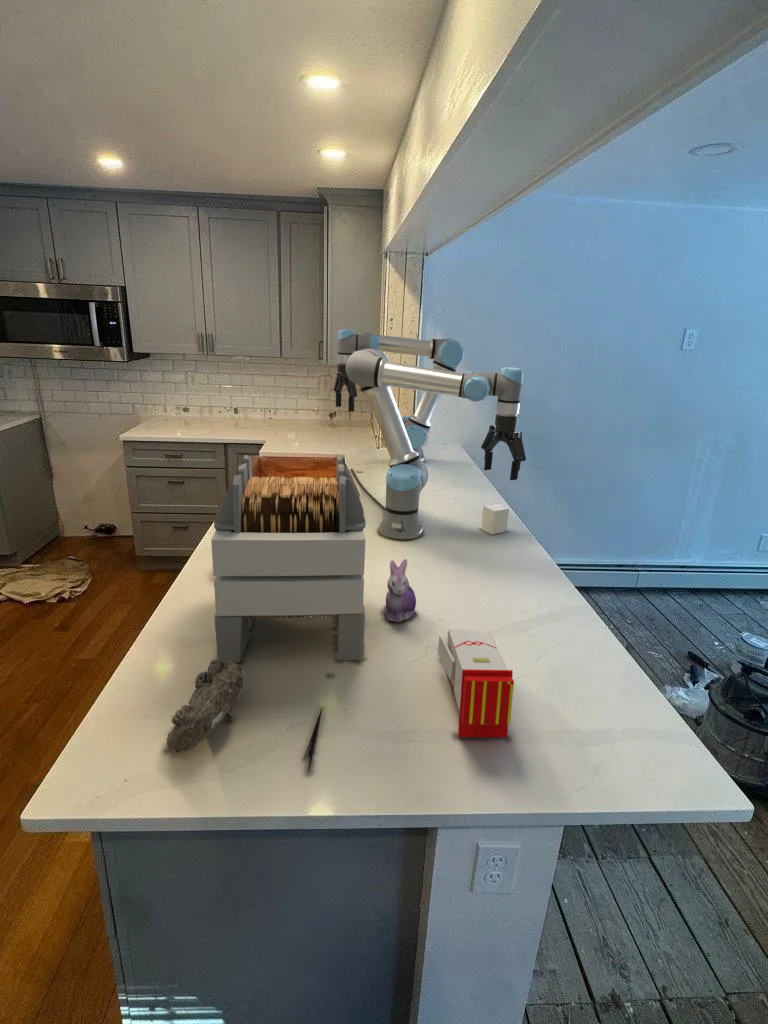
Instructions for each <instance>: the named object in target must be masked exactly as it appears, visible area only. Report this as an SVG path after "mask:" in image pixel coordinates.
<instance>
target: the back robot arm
mask: <svg viewBox="0 0 768 1024" xmlns="http://www.w3.org/2000/svg"><path fill="white" fill-rule="evenodd" d="M337 333H338V334H337V363H338V364H337V372H336V377H335V382H334V385H333V392H334V393H335V408H339V407H340V408H341V407H342V393H343V391H342V390H343V387H344V386H345V387H346V389H347V392H348V395H349V396H348V410H347V411H348V412H349V413H350V412H355V398H357V397H358V392H357V387H356V384H355V383H353V382H352V381H351V380H350V379H349V378H348V376H347V373H346V362H347V360H348V358H349V357H350V356H351V355H352V354H353V353H354V352H356V351H360V350H364V349H368V348H374V349H378V350H380V351H382V352H383V353H384V352H385V353H392V354H400V355H401V354H403V355H411V356H420V357H427V358H428V359H429V360H433V361H432V366H433V369H437V370H444V371H450V372H456V371H457V369H458V367H459V365H460V364H461V363H462V362H463V360H464V357H465V349H464V347H463V345H462V344H461V343H460V341H458V340H456V339H452V338H431V339H428V340H427V339H419V338H410V337H401V336H391V335H383V334H375V333H374V334H373V333H368V332H365V333H363V334H357V333H355V330H354V329H344V328H343V329H339V330H338V332H337ZM442 395H443V394H437V393H431V392H424V391H422V394H421V396H420V398H419V400H418V403H417V405H416V408H415V410H414V412H413V414H411V415H407V416H406V415H405V416H401V418H402V421H403V424H404V427H405V430H406V432H407V435H408V438H409V441H410V443H411V446H412V449H413V450H414V451H416V452H418V453H419V456H420V459H421V461H422V462H423V463H424V462H425V458H426V457H425V454H424V449H423V446H424V445H425V444H426V442H427V439H428V434H429V431H430V429H431V427H432V423H431V420H432V417H433V415H434V413H435V410H436V408H437V406H438V403H439V401H440V399H441V396H442ZM375 437H377V435H375Z"/></svg>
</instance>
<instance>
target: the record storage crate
mask: <svg viewBox="0 0 768 1024" xmlns="http://www.w3.org/2000/svg"><path fill="white" fill-rule="evenodd" d="M252 461H253V460H252V455H246V454H244V455H243V457H242V460H241V461H240V463H239V465H238V467H237V469H236V471H235V474H234V475H233V477H232V479H231V481H230V483H229V485H228V488H227V491H226V492H225V495H224V497H223V499H222V501H221V504H220V506H219V508H218V510H217V513H216V515H215V517H214V519H213V520H214V521H213V528H214V529H215V530H214V533H213V535H212V537H211V540H210V543H211V558H212V572H213V573H212V575H213V577H215V578H214V581H213V588H214V589H213V591H214V605H215V614H214V630H215V632H214V633H215V644H216V653H217V659H215V660H217V661H222V662H223V661H224V660H227V659H228V660H231V659H232V660H234V661H235V662H236V663H241V660H242V657H243V655H244V652H245V649H246V647H247V644H248V641H249V639H250V634H249V633H250V631H249V629H251V628H252V624H253V619H292V618H293V619H294V618H295V619H300V618H302V619H305V618H306V619H307V618H335V627H336V648H337V649H336V651H337V660H338V661H347V660H348V661H349V660H351V661H352V660H354V661H361V660H362V659H364V657H365V629H366V627H365V626H366V625H365V624H366V613H365V606H364V594H365V593H364V591H365V578H364V575H365V562H366V561H365V559H366V535H365V531H364V529H365V528H366V517H365V512H364V507H363V506H364V505H363V503H362V499H361V494H360V492H359V489H358V487H357V485H356V483H355V481H354V479H353V476H352V474H351V472H350V470H349V468H348V465H347V463H346V461H345V459H344V456H340V455H336V471H335V472H336V475H335V476H336V477H329V478H328V477H326V476H325V477H319V478H315V477H313V476H310V477H309V476H293V477H291V478H290V477H289V478H288V476H287V477H285V476H281V477H280V476H262V477H259V476H253V462H252Z"/></svg>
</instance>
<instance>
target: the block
mask: <svg viewBox="0 0 768 1024" xmlns="http://www.w3.org/2000/svg"><path fill="white" fill-rule="evenodd" d="M509 513H510V508H509V507H506V506H504V505H502V504H500V503H494V504H488V505H484V506H483V507H482V515H481V525H480V530H481V531H484V532H486V533H488V534H489V535H497V534H501V533H506V532H507V531H508V521H509Z"/></svg>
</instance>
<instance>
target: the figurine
mask: <svg viewBox="0 0 768 1024" xmlns="http://www.w3.org/2000/svg"><path fill="white" fill-rule="evenodd" d="M407 567H408V559H406V558H404V559H403V560H402V561H401V563H400V565H399V566H398V565H397V563H396V562H395V561H394V560H393V559H391V560H390V561H389V570H390V576H389V578H388V579H387V589H388V591H387V592H386V594H385V595H386V596H385V607H384V615H385V616H386V620H387V621H391V622H395V623H400V622H402V621H406V620H409V619H410V618H411V617H413V616H414V615H415V610H416V606H417V597H416V593H415V591H414V590H413V587H411V586H410V582H409V579H408V577H407V574H406V571H407Z"/></svg>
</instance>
